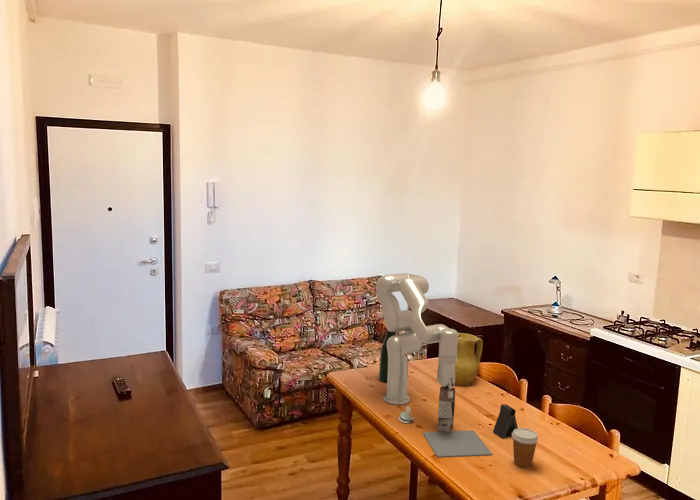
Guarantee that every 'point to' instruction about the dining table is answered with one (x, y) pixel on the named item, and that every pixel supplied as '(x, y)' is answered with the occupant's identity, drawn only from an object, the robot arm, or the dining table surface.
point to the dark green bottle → (384, 358)
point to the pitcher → (467, 359)
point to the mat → (456, 444)
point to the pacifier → (406, 416)
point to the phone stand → (505, 422)
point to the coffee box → (446, 409)
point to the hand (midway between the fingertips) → (445, 399)
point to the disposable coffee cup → (524, 446)
